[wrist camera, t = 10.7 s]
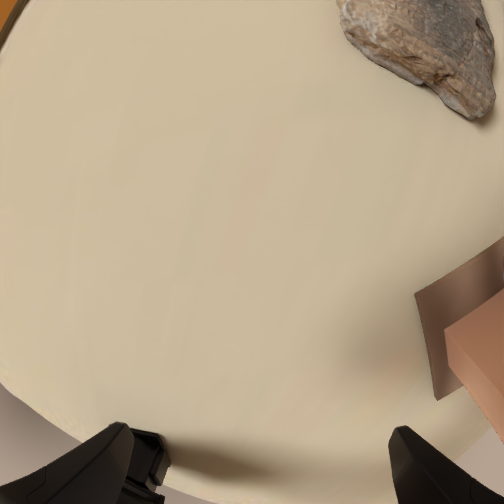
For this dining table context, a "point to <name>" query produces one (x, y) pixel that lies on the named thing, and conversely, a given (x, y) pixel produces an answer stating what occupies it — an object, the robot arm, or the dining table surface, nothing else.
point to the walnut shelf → (457, 308)
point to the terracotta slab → (481, 357)
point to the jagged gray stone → (428, 46)
